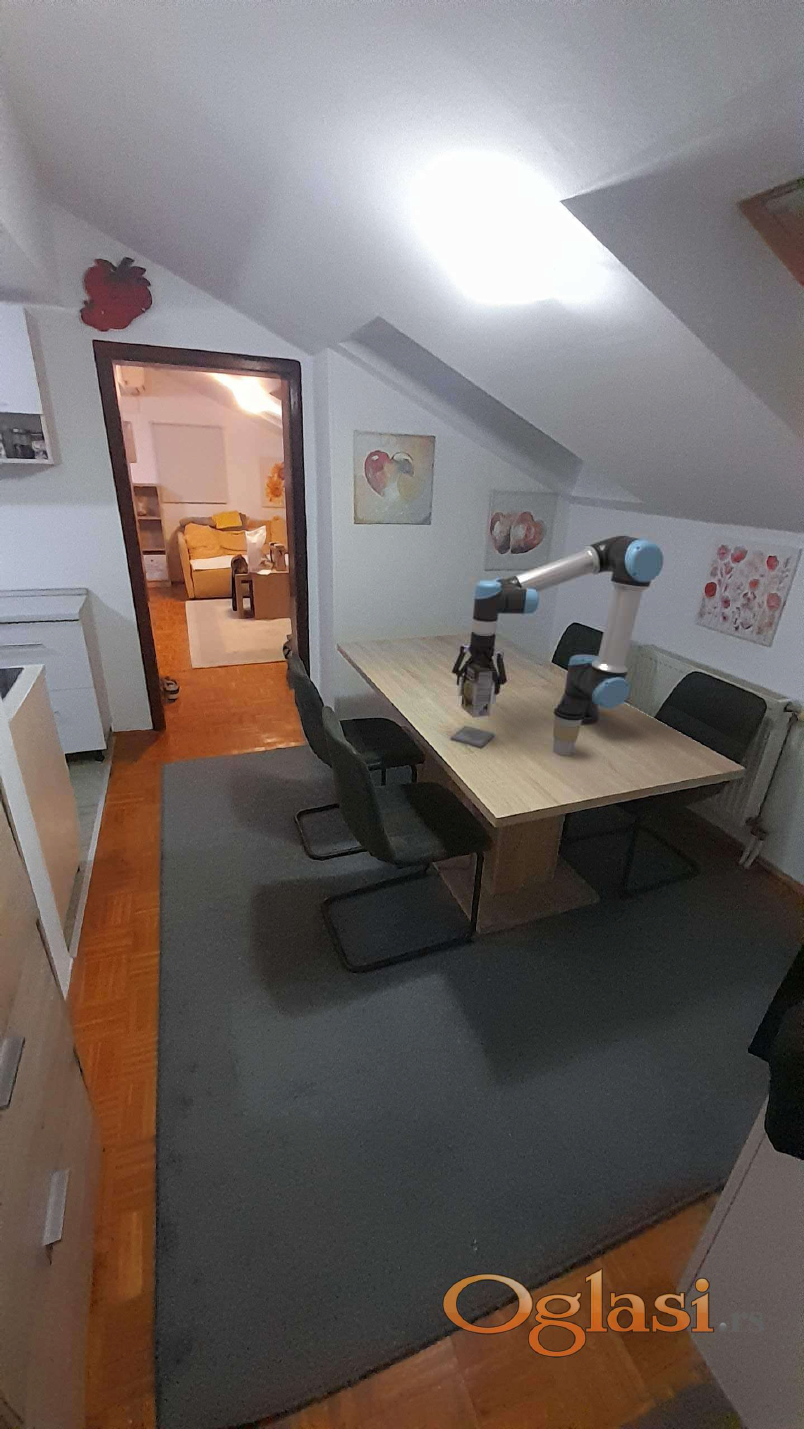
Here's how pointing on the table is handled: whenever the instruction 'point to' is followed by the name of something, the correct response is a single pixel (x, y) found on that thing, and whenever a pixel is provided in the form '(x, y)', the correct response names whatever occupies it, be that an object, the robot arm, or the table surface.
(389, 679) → the table surface
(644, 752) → the table surface
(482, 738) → the tray
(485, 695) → the coffee box
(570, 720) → the coffee cup
